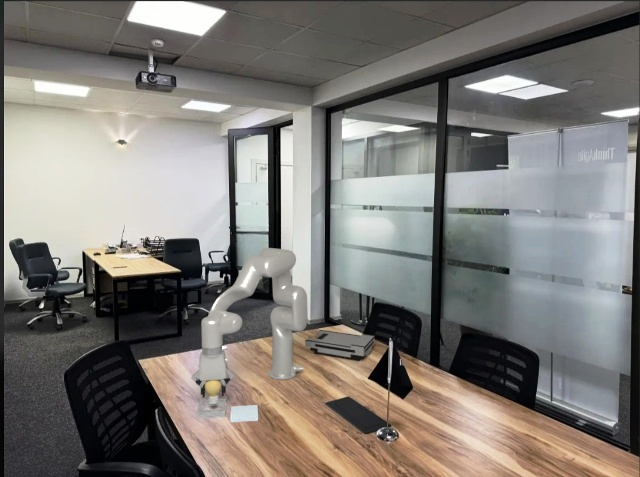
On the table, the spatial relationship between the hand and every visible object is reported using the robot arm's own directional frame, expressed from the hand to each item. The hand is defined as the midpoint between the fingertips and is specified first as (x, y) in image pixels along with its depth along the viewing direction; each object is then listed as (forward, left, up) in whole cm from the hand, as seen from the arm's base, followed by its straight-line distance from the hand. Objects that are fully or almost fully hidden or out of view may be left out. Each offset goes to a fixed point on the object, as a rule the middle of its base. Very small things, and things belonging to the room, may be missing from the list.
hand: (213, 395), depth 161 cm
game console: (-62, -57, -7) cm, 84 cm away
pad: (-12, +4, -6) cm, 14 cm away
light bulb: (0, 0, -3) cm, 3 cm away
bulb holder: (0, 0, -6) cm, 6 cm away
